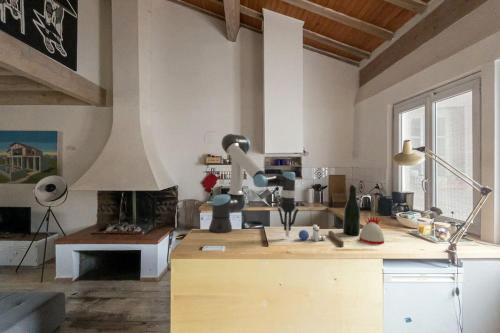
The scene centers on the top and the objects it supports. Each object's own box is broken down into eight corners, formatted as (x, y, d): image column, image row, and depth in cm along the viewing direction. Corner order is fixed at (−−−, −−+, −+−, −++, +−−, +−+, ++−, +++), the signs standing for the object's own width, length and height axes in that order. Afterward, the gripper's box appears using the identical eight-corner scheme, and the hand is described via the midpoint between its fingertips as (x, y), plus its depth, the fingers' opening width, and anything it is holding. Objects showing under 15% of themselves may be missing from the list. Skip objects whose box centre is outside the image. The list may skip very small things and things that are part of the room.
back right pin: (313, 241, 165) (314, 226, 165) (315, 240, 166) (316, 226, 166) (317, 242, 163) (317, 227, 163) (319, 241, 165) (319, 227, 165)
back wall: (339, 246, 155) (339, 241, 155) (328, 235, 179) (328, 230, 179) (343, 246, 155) (343, 241, 155) (331, 235, 179) (331, 231, 179)
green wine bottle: (360, 236, 179) (362, 185, 178) (343, 235, 181) (345, 185, 181) (358, 232, 189) (360, 184, 188) (342, 231, 191) (343, 184, 191)
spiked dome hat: (386, 245, 161) (387, 219, 161) (361, 243, 164) (362, 218, 164) (380, 239, 175) (381, 215, 175) (357, 237, 177) (358, 214, 177)
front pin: (310, 234, 167) (325, 235, 167) (310, 237, 169) (324, 237, 169) (311, 238, 165) (325, 239, 165) (310, 240, 167) (324, 241, 167)
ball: (311, 237, 166) (303, 243, 167) (306, 229, 170) (298, 234, 171) (308, 235, 162) (300, 240, 163) (303, 226, 166) (295, 232, 166)
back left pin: (311, 238, 170) (312, 225, 170) (314, 238, 171) (314, 224, 171) (315, 239, 168) (315, 225, 168) (317, 239, 170) (318, 225, 170)
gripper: (278, 197, 164) (276, 237, 164) (300, 198, 163) (298, 237, 164) (277, 196, 171) (275, 233, 171) (298, 196, 171) (296, 234, 171)
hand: (287, 235), depth 168 cm, fingers closed
